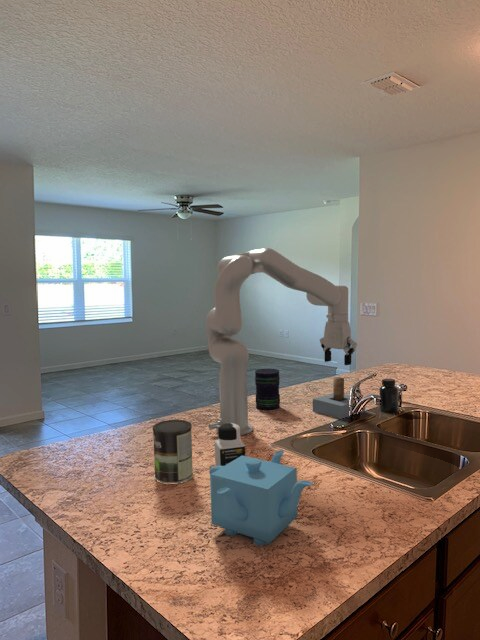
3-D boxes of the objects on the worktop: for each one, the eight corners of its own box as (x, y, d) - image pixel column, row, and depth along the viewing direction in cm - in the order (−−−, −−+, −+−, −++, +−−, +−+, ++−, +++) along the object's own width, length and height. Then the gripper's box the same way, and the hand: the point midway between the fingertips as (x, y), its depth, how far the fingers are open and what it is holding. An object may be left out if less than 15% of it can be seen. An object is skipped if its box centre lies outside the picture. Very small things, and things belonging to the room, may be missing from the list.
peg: (339, 411, 178) (339, 380, 177) (331, 408, 181) (331, 378, 180) (346, 409, 180) (346, 378, 179) (338, 407, 184) (338, 376, 182)
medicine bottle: (220, 473, 127) (219, 430, 126) (214, 463, 134) (213, 422, 133) (246, 470, 129) (244, 427, 128) (239, 460, 136) (238, 420, 135)
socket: (341, 419, 171) (341, 406, 171) (312, 411, 182) (312, 398, 182) (365, 411, 180) (365, 398, 179) (336, 404, 191) (336, 392, 190)
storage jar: (284, 409, 186) (283, 372, 185) (261, 412, 183) (261, 374, 181) (273, 403, 196) (272, 367, 194) (251, 406, 192) (250, 370, 191)
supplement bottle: (395, 407, 184) (396, 377, 183) (400, 413, 177) (400, 381, 176) (377, 407, 185) (377, 377, 183) (381, 413, 178) (381, 381, 177)
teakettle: (206, 513, 106) (204, 449, 105) (286, 502, 110) (284, 441, 109) (220, 562, 88) (217, 486, 86) (315, 547, 92) (314, 474, 90)
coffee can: (158, 488, 119) (156, 434, 118) (151, 472, 129) (149, 422, 128) (198, 480, 123) (196, 428, 122) (188, 466, 133) (186, 417, 131)
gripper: (314, 317, 182) (313, 361, 183) (349, 320, 168) (349, 367, 170) (327, 316, 187) (326, 359, 188) (363, 319, 173) (362, 365, 175)
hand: (337, 363), depth 179 cm, fingers open, 9 cm apart
